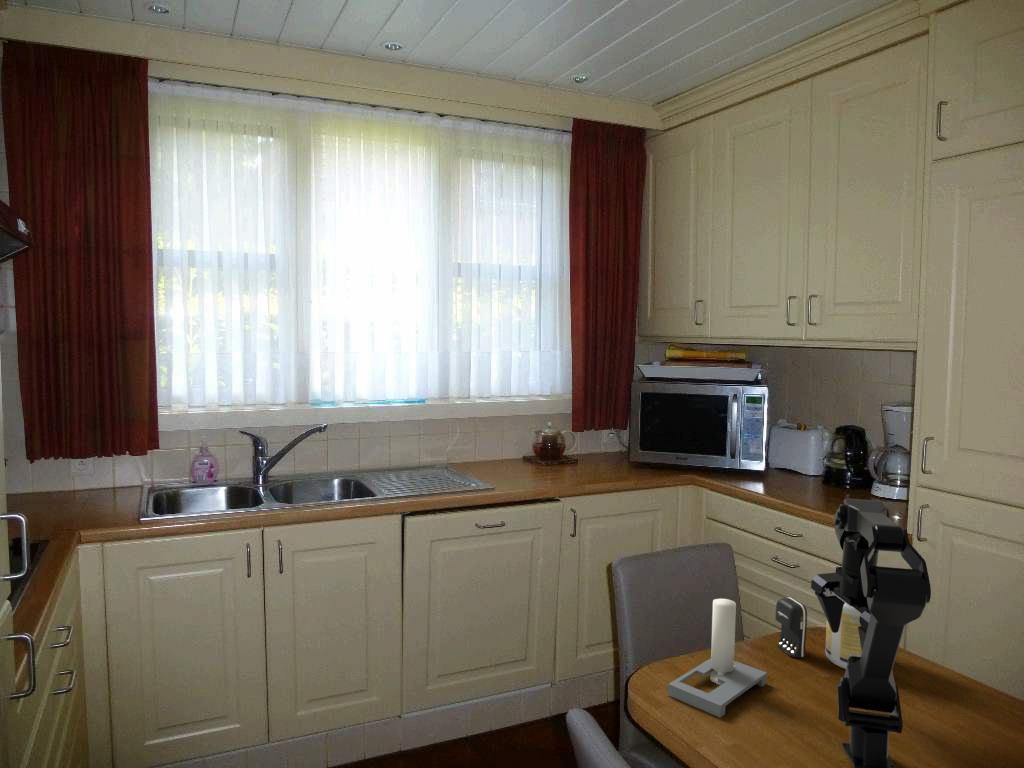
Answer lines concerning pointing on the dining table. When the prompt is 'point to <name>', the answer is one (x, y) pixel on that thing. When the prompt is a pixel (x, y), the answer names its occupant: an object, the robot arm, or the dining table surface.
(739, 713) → the dining table surface
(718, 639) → the footed peg
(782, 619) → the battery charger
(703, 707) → the keyhole plate
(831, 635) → the supplement tub
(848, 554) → the robot arm
